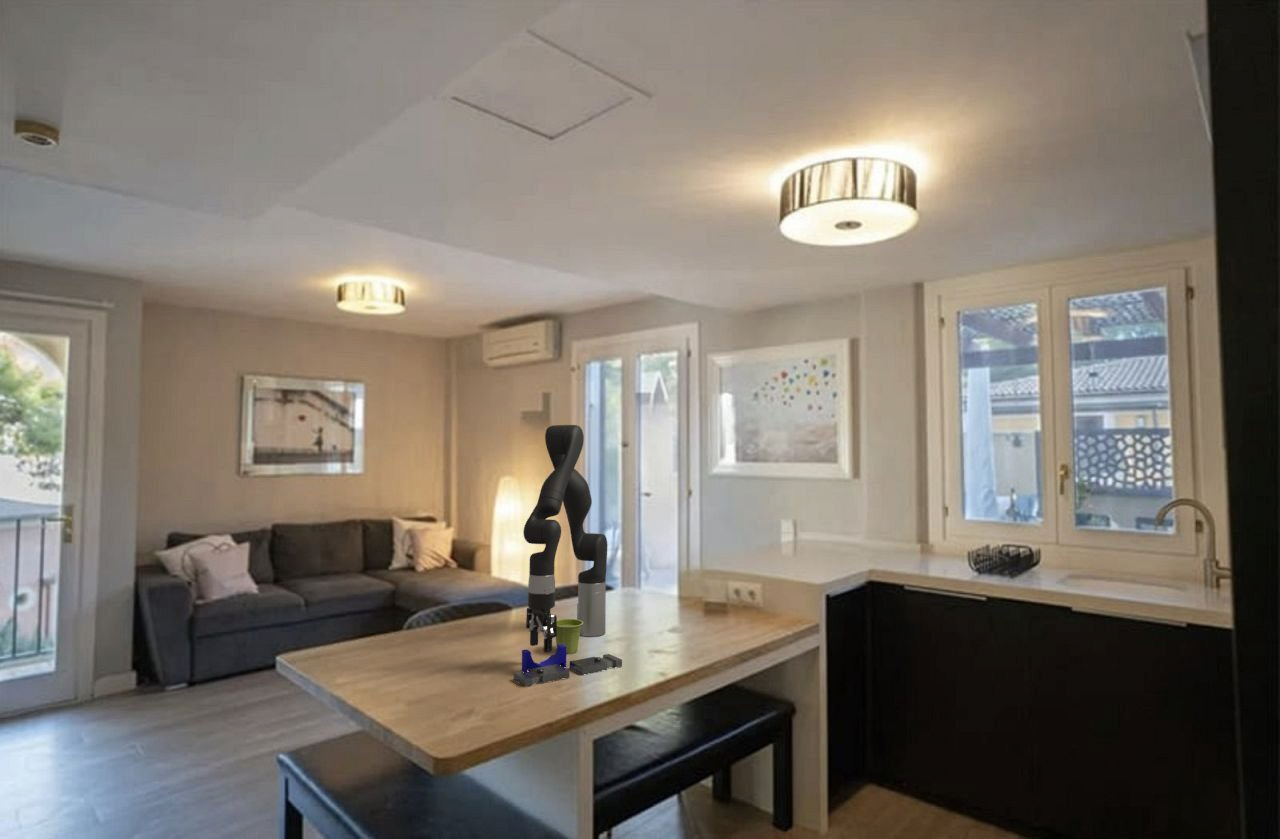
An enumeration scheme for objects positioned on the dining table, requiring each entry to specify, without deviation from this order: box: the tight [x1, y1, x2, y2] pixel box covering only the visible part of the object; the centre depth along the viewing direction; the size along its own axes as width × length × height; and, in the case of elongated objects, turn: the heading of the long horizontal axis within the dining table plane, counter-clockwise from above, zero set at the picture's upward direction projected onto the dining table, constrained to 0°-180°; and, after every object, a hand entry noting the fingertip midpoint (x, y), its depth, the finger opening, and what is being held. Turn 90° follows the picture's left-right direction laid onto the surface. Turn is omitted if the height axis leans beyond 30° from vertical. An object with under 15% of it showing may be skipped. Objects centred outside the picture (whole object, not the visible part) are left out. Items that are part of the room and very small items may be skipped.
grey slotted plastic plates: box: [513, 653, 623, 688], centre depth 191 cm, size 7×30×3 cm, turn 125°
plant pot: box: [555, 618, 583, 655], centre depth 212 cm, size 9×9×9 cm
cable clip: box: [521, 644, 567, 673], centre depth 195 cm, size 12×4×6 cm, turn 119°
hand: (540, 648), depth 196 cm, fingers open, 8 cm apart
